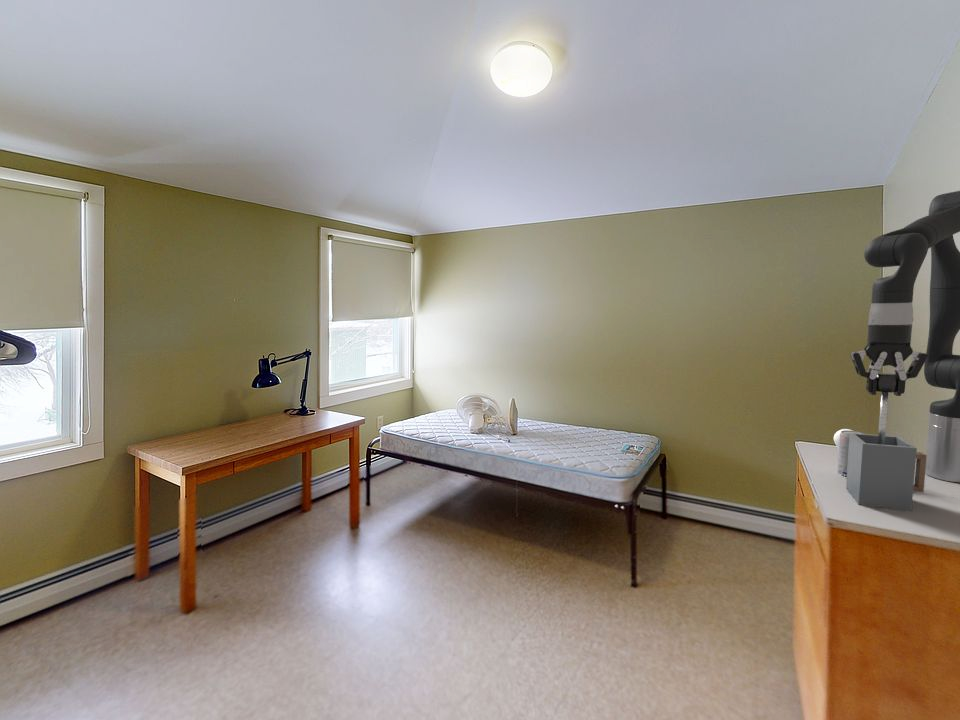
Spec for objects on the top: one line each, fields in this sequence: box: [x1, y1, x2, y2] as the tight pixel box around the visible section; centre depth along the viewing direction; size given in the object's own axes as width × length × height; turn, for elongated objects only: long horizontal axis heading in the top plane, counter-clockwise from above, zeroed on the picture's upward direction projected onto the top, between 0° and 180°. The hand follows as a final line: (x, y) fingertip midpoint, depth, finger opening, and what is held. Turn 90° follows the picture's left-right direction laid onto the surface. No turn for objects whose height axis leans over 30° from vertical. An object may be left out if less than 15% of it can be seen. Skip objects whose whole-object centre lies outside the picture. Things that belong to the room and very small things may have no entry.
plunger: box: [876, 372, 898, 445], centre depth 106 cm, size 7×7×21 cm
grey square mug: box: [845, 433, 927, 512], centre depth 107 cm, size 13×10×15 cm
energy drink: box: [837, 430, 864, 477], centre depth 123 cm, size 5×5×12 cm
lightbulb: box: [833, 428, 854, 451], centre depth 130 cm, size 6×6×11 cm
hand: (884, 394), depth 105 cm, fingers closed on plunger, 4 cm apart
